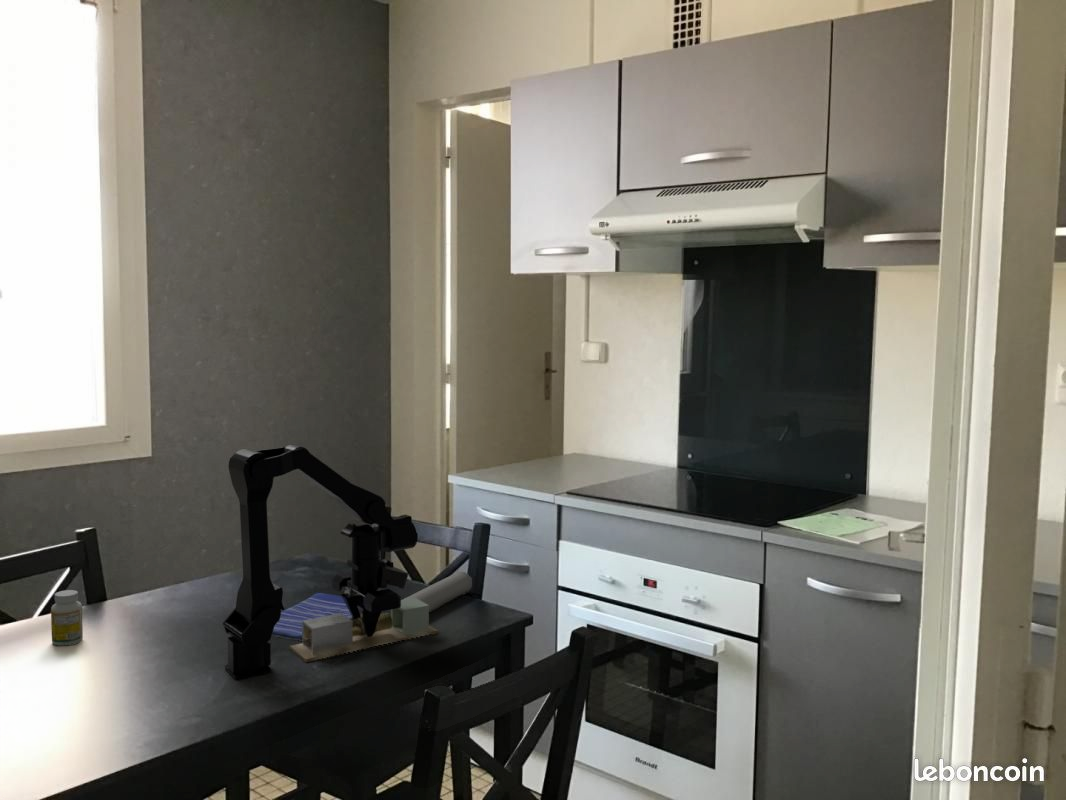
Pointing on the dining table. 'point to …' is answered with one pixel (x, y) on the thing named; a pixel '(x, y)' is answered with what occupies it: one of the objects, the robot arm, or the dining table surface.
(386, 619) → the tube
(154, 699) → the dining table surface
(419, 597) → the tube
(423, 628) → the socket
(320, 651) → the sleeve
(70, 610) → the supplement bottle
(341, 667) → the dining table surface
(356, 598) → the robot arm
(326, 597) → the dish towel
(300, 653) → the mounting board
